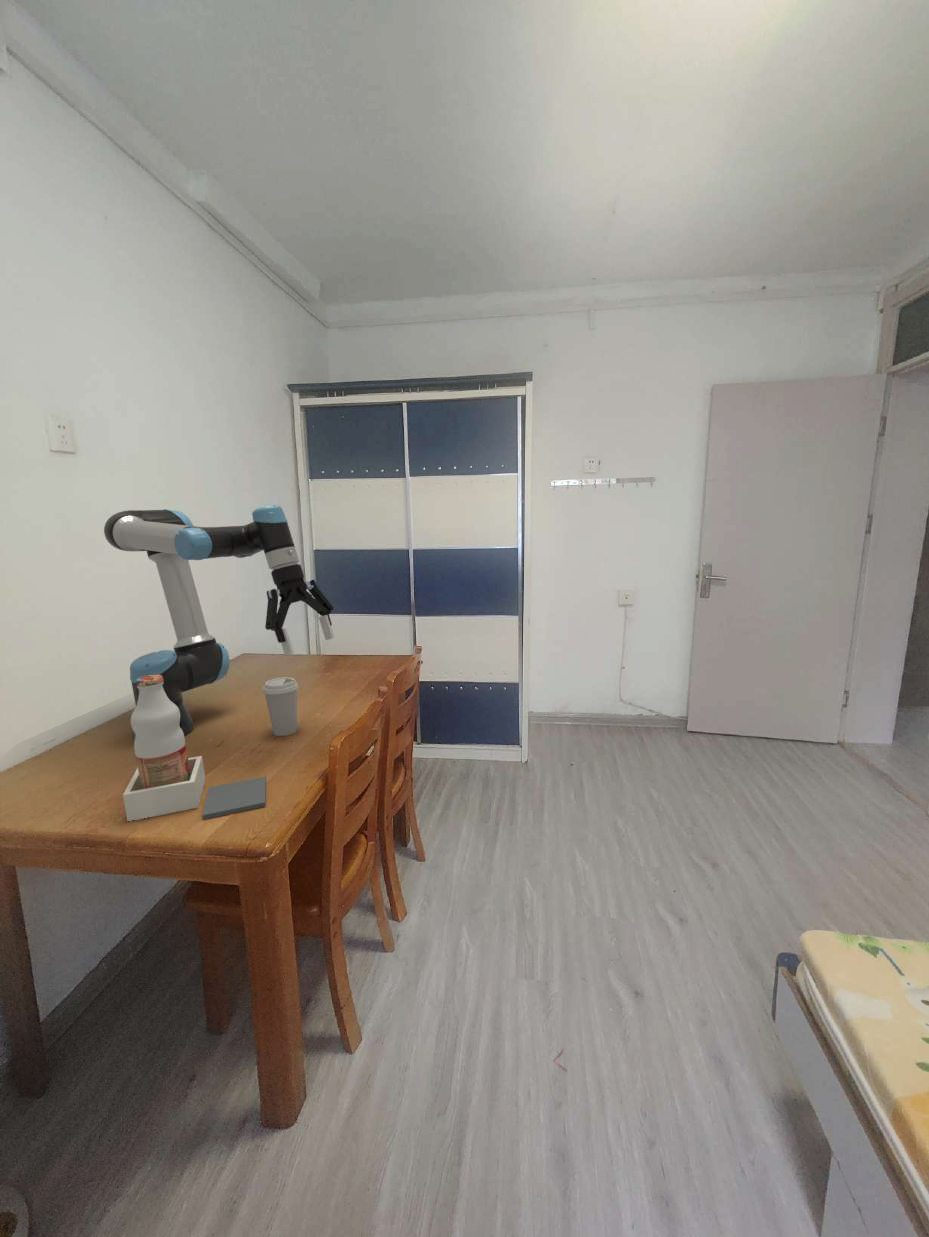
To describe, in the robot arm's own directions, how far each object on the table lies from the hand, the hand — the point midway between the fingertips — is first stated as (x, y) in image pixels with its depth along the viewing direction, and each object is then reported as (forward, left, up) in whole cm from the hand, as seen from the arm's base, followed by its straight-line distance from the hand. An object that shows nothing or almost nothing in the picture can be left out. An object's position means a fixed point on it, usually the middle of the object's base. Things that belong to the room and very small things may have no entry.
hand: (310, 646), depth 133 cm
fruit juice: (+15, -34, -27) cm, 46 cm away
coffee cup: (-13, -9, -27) cm, 31 cm away
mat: (+21, -20, -27) cm, 40 cm away
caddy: (+15, -34, -27) cm, 46 cm away
